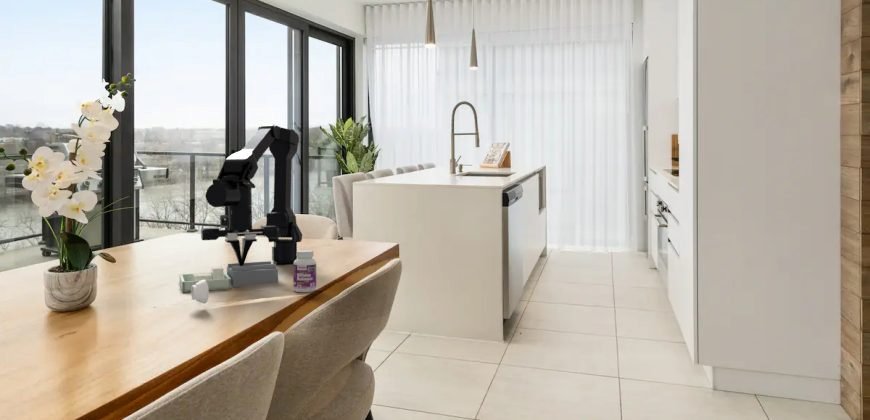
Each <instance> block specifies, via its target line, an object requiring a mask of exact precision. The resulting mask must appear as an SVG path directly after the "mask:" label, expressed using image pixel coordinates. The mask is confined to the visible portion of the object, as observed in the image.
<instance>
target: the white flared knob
mask: <svg viewBox="0 0 870 420" xmlns="http://www.w3.org/2000/svg"><path fill="white" fill-rule="evenodd" d="M209 292H210V291H209V289H208V284H207V282H206V280H201V281H199V282H197V283H196V284H195V285H192V287H191V292H190V295H191V300H193V301H194V300H195V301H196V302H198V303H202V304H207V302H208V300H209V294H210V293H209Z"/></svg>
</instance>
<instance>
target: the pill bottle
mask: <svg viewBox="0 0 870 420" xmlns="http://www.w3.org/2000/svg"><path fill="white" fill-rule="evenodd" d="M296 256H297V259H296V260H295V261H294V263H293V270H292V271H293V281H292V282H293V291H294V292H296V293H311V292H315V291H316V290H317V261H316V260H315V259H314V250H310V249H309V250H307V249H305V250H304V249H303V250H301V249H300V250H297V252H296Z"/></svg>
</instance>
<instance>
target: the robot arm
mask: <svg viewBox="0 0 870 420" xmlns="http://www.w3.org/2000/svg"><path fill="white" fill-rule="evenodd" d="M299 142H300V136H299V134H298V132H296V131H295V130H294V129H292V128H291V129H290V128H285V127H281V126H279V125H275V124H262V125H260V126H258V128H257V131H256V133H255V134H253V136H252V137H251V138H250V140H249V141H248V142H247V143H246V144H245V146H243V148H242V149H241V150H239V151H237V152H234V153H232V154H231V155H230V156H228V157H227V158H225V160H224V161H223V164H222V166H221V168H220V170H219V173H218V175H217V178H216V179H215V178H213V179H212V184H211V185H210V186H208V188H207V189H206V193H205V200H206V202H207V204H209V206H211V207H213V208H224V207H226V208H228V209H227V210H228V214H220V215H219V223H220V225H219V226H220V228H221V229H220V228H219V227H203V228H202V229H201V230H200V237H201V238H200V239H201V240H202V241H216V240H218V239H219V238H225V239H224V241H225V242H226V243H229V244H230V245H231V247H232V249H233V252H234V254H235V256H236V261H237V263H239V266H243V265H244V263H246V259H247V256H248V254H249V251H250V248H251V247H252V245H253V243H254V242H258V239H256V238H257V236H263V237H266V238H267V240H268V243H273V246H271V260H272V262H273V263H274V264H276V265H278V264H288V263H289V264H294V261H295V260H296V259H298V257H297V256H296V252H297V251H298V249H297V248H298V243H300V242H302V241H303V233H302V231H301V229H300V227H299V225H298V224H297V216H296V215H295V213H294V211H293V209H292V206H291V205H292V203H291V202H292V161H293V159H294V157H295V155H296V154H297V152H298V149H299V148H298V146H299ZM267 150H269V151H270V153H271V155H272V156H273V158H274V168H273V170H274V172H273V173H274V175H273V208H272V209H271V211H270V212H268V213H266V217H265V218H266V222H265V223H266V225H260V228H253V209H252V208H253V206H252V205H253V203H252V200H253V199H252V189H256V185H255V183H253V182H252V179H254V177H255V175H256V173H257V171H258V169H259V165H258V162H259V160H260V159H261V158H262V157H263V155H264V154H265V153H266V151H267ZM238 237H243V238H241V239H242V240H241V244H242V245H240V240H239V239H238Z"/></svg>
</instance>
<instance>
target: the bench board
mask: <svg viewBox="0 0 870 420" xmlns="http://www.w3.org/2000/svg"><path fill="white" fill-rule="evenodd" d="M226 274H227V275H228V276H229V277H230V278H231V288H240V287H250V286H258V285H266V284H275V283H276V284H277V283H279V269H278V268H277V263H272V261H271V260H268V261H250V262H249V261H248V262H246V261H245V262H244V265H243V266H239V263H238V262H231V263H227V266H226Z"/></svg>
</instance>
